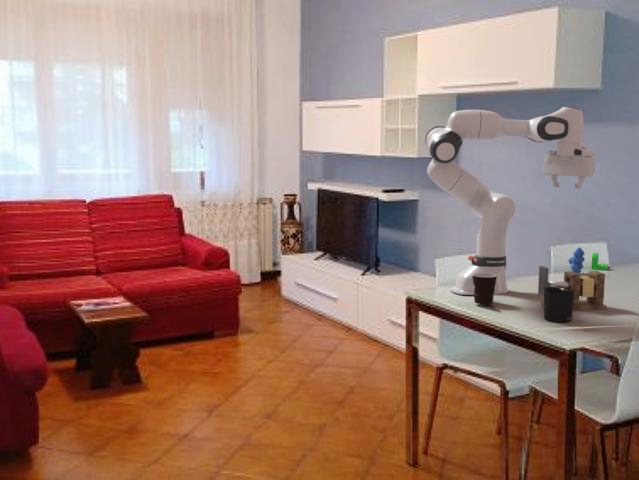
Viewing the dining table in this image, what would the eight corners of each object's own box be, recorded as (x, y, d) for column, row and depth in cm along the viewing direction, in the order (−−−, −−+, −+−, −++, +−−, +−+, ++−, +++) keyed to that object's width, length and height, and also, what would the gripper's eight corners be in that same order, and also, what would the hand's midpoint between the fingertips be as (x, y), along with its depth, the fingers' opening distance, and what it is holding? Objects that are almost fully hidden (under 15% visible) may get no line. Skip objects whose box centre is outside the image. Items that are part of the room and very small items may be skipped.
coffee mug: (491, 306, 254) (492, 278, 253) (467, 303, 259) (468, 275, 258) (501, 300, 264) (502, 273, 263) (479, 297, 269) (479, 271, 267)
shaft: (543, 298, 249) (545, 268, 247) (538, 295, 254) (539, 265, 252) (597, 296, 251) (599, 267, 250) (590, 293, 256) (592, 264, 255)
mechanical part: (605, 272, 324) (606, 254, 323) (591, 271, 326) (592, 253, 325) (608, 268, 334) (609, 251, 333) (595, 267, 337) (596, 250, 336)
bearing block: (552, 310, 248) (553, 275, 246) (540, 304, 256) (542, 271, 255) (606, 309, 250) (608, 274, 249) (593, 303, 259) (595, 270, 257)
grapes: (571, 271, 323) (573, 245, 321) (587, 273, 319) (588, 246, 317) (562, 275, 314) (563, 248, 312) (578, 277, 310) (579, 249, 308)
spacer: (582, 297, 250) (583, 279, 249) (573, 293, 256) (574, 275, 255) (593, 296, 250) (594, 278, 249) (584, 293, 257) (585, 275, 256)
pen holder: (549, 323, 230) (551, 293, 228) (538, 316, 239) (539, 287, 238) (577, 323, 231) (579, 292, 229) (565, 316, 240) (566, 286, 239)
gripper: (540, 150, 275) (538, 186, 277) (588, 151, 259) (585, 189, 261) (550, 150, 279) (548, 186, 281) (598, 151, 263) (595, 189, 264)
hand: (566, 187), depth 271 cm, fingers open, 8 cm apart
